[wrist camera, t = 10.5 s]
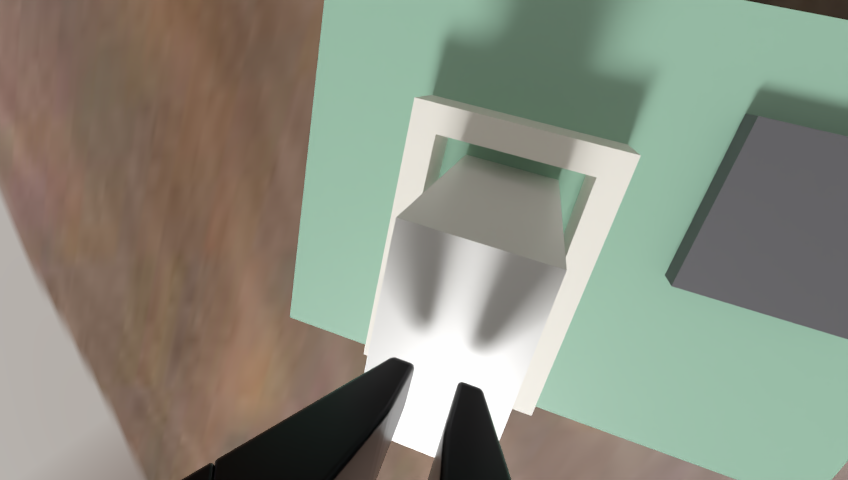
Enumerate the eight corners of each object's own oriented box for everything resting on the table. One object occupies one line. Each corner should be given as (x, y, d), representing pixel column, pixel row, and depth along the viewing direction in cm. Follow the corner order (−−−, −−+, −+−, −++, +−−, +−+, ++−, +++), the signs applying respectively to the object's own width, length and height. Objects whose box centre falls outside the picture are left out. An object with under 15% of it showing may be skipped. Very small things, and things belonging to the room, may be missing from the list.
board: (1118, 82, 10) (1321, 82, 8) (794, 481, 16) (844, 565, 13) (347, -69, 14) (296, -105, 11) (302, 305, 19) (261, 343, 16)
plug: (558, 179, 13) (566, 269, 7) (505, 331, 16) (474, 502, 9) (466, 154, 14) (396, 217, 8) (426, 305, 16) (347, 450, 10)
